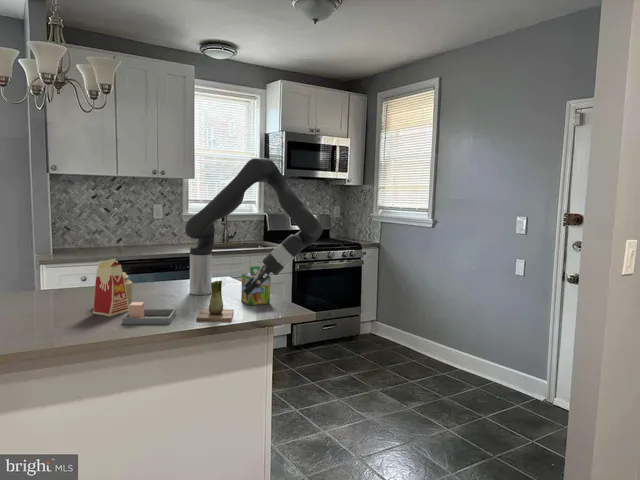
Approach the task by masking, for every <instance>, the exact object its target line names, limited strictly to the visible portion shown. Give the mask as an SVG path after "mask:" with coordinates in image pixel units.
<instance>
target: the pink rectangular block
mask: <svg viewBox="0 0 640 480" xmlns="http://www.w3.org/2000/svg"><path fill="white" fill-rule="evenodd" d="M144 309H145V301H143V302H142V301H141V302H140V301H132V303H131V304H130V305H129V311H128V312H129V318H145V315H144Z"/></svg>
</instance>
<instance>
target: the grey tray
mask: <svg viewBox="0 0 640 480" xmlns="http://www.w3.org/2000/svg"><path fill="white" fill-rule="evenodd" d="M176 315H177V309H176V308H144V316H168V317H144V318H129V311H127V313H126V314H125V315H124V316H123V317H122V318H121V321H122V325H170V324H171V323H172V321H173V320H174V318H175V317H176Z"/></svg>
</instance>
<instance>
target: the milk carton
mask: <svg viewBox="0 0 640 480" xmlns="http://www.w3.org/2000/svg"><path fill="white" fill-rule="evenodd" d="M116 260H117V258H116V257H114V258H111V259H107V260H98V261H97V262H98V263H99V264H98V266H97V268H96V273H95V274H96V276H95V282H94V296H93V311H92V312H93V314H94V315H100V316H105V317H113V316H116V315H120V314H124V313H126V312H127V313H128V312H129V305H128V298H127V293H126V287H125V282H124V277H123V272H124V271H123V268H122V264H120V263H119V262H117V261H116Z"/></svg>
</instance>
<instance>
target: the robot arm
mask: <svg viewBox="0 0 640 480" xmlns="http://www.w3.org/2000/svg"><path fill="white" fill-rule="evenodd" d="M257 183H267V184H268V185H269V186H270V187H271V188H272V189H273V190H274V191H275V193H276V196H277V201H278V203H279V205H280V207H281V209H282V210H283V211H284V212H285V213H286V214H287V216H288V217H289V218H290V219H291V220H292V221H293V222H294V223H295V225H296V226H297V228H298V229H299V231H298V232H296V233H295V234H290V235H288V236H287V237H286V238H285V239H284V240H283V241H282V242H281V243H279V245H277V246H276V247H275V248H273V249H272V251H271V252H269V253H268V254H267V255H266V256H265V257H264V258H263V259H262V263H263V265H262V267H260V269H259V270H257V271H256V272H254V273H255V274H254V275H253V277H252V279H251V280H249V281H248V282H247V283H246V284H245V287H246V289H245V290H244V292H245V293H246V294H247V295H249V294H250V293H251V292H252V291H253V290H254V289H255V288H258V287H259V286H260V285H261V284H262V283H263V282H264V281H265V280H266V279H267V278H269V276H270V274H271V273H272V274H273V275H275V276H278V274H280V273H281V272H282V270H284V269H285V268H286V267H287V266H288V265H289V264H291V262H292V261H293V260H294V259H295V258H296V257H297V256H298V254H300V253H301V252H302V251H303V250H304V249H305V248H307V247H309V246H310V245H312V244H313V243H314V242H316V241H317V240H318V239H319V238H320V237H321V235H322V234H323V232H324V231H323V229H324V228H323V225H322V224H321V222H320V221H319V220H318V219H317V218H316V216H314V214H312V213H311V211H310V210H309V209H308V208H307V207H306V205H305V204H304V202H303V201H302V200H301V199H300V198H299V197H298V196H297V194H295V192H294V191H293V189H292V188H291V186H290V185H289V184H288V182H287V181H286V179H285V178H284V176H283V174H282V172H281V171H280V170H279V168H278V166H277V164H276V163H275V162H274V161H273V160H272V159H270V158H266V157H254V158H252V157H251V158H250V160H248V161H247V162H246V163H245V165H244V166H242V168H241V170H240V171H239V172H238V174H237V175H236V176H235V177H234V178H233V179H232V180H231V181H229V183H228V184H227V185H226V186H224V188H222V190H220V191H219V192H218V194H217V195H216V196H214V198H213V199H212V200H210V201H209V203H207V204H206V205H205V206H204V207H203V208H202V209H201V210H200V211H198V212H197V213H195V214H194V215H193V216H192V217H191V218H189V219H188V221H186V224H185V227H184V229H185V234H186V236H187V237H189V238H191V239H195V240H196V239H198V240H197V241H196V243H195V244H194V245H192V246H191V247H190V248H189V294H190V295H192V296H193V295H195V296H205V295H210V294H211V283H212V280H213V279H212V274H213V273H212V272H213V271H212V270H213V269H212V266H213V265H212V264H213V262H212V261H213V260H212V259H213V257H212V256H213V249H214V247H215V235H216V234H215V232H216V230H215V228H216V227H215V223H214V222H216V221H218V220H221V219H223V218H225V217H226V216H228V215H230V214H232V213H234V211H235V210H237V208H239V206H241V205H242V203H243V200H244V197H245V193H246V192H247V191H248V189H250V188H251V187H252V186H253V185H255V184H257ZM256 282H258V284H257V283H256Z"/></svg>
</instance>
